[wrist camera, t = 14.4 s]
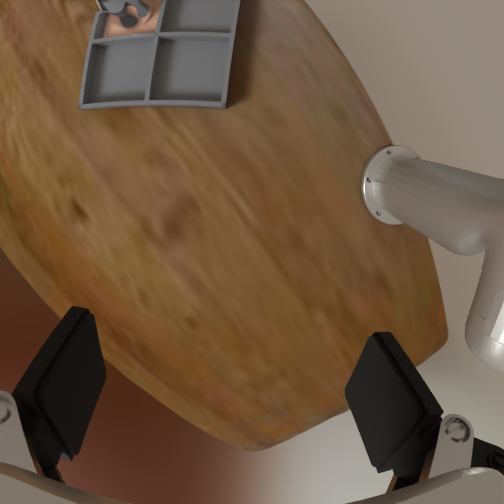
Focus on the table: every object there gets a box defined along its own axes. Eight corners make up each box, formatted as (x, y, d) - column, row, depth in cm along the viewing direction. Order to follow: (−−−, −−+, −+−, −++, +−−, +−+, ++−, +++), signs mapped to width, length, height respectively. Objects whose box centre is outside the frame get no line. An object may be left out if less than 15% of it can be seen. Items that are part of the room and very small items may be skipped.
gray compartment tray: (242, -12, 28) (244, -22, 25) (225, 109, 35) (225, 107, 32) (110, -7, 25) (104, -14, 23) (87, 110, 33) (78, 109, 30)
